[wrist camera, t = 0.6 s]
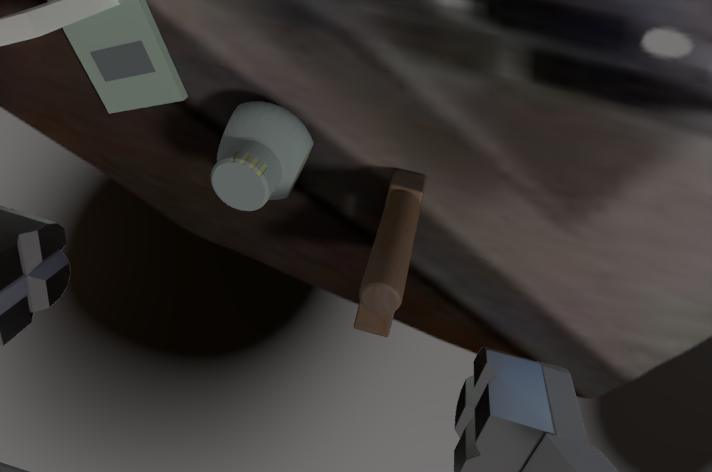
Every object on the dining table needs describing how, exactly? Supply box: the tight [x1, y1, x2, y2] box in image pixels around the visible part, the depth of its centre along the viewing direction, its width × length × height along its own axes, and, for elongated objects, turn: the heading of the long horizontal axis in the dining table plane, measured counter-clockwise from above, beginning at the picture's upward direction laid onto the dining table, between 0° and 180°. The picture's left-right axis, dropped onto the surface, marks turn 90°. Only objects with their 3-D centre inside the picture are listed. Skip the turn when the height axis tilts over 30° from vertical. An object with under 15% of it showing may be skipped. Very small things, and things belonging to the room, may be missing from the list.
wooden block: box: [354, 169, 426, 337], centre depth 49 cm, size 4×11×18 cm, turn 172°
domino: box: [0, 0, 119, 46], centre depth 44 cm, size 2×6×11 cm, turn 104°
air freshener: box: [211, 101, 313, 211], centre depth 50 cm, size 11×8×10 cm
